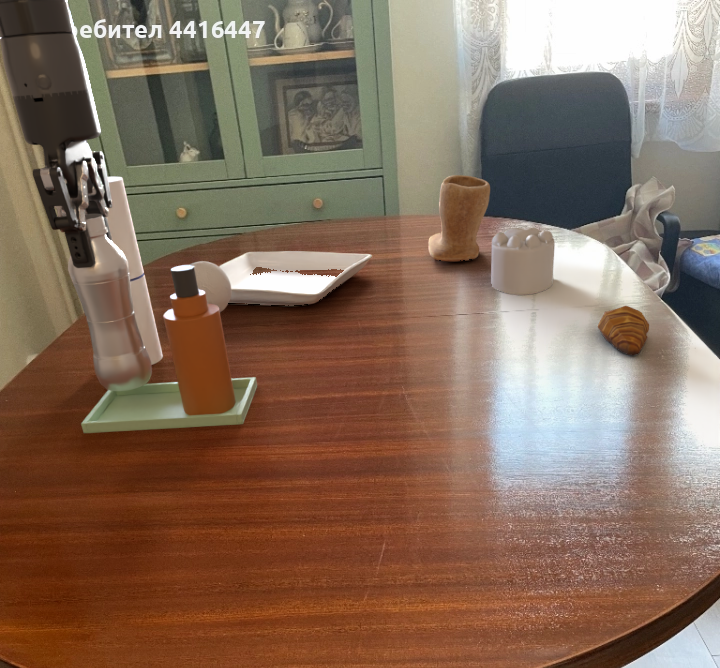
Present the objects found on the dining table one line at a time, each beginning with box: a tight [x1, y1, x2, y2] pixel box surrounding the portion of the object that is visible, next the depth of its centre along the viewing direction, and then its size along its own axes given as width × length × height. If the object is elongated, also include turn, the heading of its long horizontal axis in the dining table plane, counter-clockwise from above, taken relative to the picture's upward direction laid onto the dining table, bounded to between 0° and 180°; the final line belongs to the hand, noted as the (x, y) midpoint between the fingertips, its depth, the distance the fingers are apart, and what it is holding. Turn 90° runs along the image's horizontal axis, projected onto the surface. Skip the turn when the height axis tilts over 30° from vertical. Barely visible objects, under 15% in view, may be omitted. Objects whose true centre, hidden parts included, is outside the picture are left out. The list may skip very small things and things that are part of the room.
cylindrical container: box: [71, 176, 164, 366], centre depth 100 cm, size 7×7×25 cm
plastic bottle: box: [67, 214, 153, 391], centre depth 84 cm, size 6×7×20 cm
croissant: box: [597, 305, 650, 356], centre depth 98 cm, size 14×7×5 cm, turn 174°
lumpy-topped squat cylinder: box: [490, 227, 556, 296], centre depth 124 cm, size 10×13×9 cm
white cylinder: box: [189, 260, 231, 313], centre depth 98 cm, size 7×7×15 cm
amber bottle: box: [162, 264, 236, 415], centre depth 86 cm, size 6×6×17 cm
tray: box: [80, 376, 258, 434], centre depth 90 cm, size 19×11×2 cm, turn 88°
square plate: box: [218, 250, 373, 307], centre depth 134 cm, size 27×27×4 cm
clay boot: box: [427, 174, 491, 262], centre depth 142 cm, size 15×12×15 cm
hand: (95, 258), depth 81 cm, fingers closed on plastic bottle, 5 cm apart
